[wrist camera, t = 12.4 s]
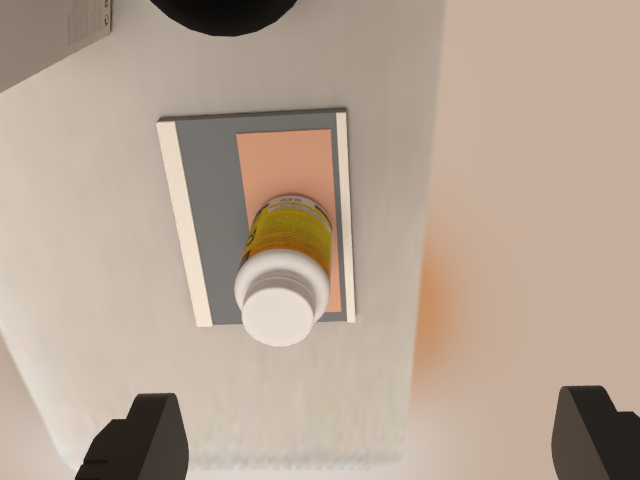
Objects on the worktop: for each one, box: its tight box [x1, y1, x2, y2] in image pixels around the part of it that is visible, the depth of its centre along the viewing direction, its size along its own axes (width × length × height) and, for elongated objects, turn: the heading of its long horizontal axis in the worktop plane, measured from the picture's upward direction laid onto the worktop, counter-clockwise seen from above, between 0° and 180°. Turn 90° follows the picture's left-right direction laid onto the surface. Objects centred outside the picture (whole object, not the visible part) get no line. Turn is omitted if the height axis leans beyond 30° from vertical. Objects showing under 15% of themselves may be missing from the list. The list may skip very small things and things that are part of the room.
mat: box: [156, 108, 355, 327], centre depth 42 cm, size 12×16×1 cm
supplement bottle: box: [234, 196, 333, 347], centre depth 37 cm, size 6×6×10 cm
